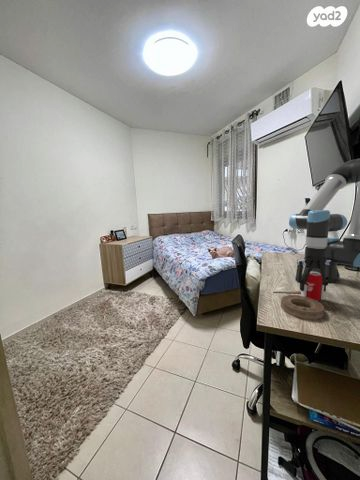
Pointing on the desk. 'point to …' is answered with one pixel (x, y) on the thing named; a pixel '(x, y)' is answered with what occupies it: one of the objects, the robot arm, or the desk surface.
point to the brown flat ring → (311, 312)
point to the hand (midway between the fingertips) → (311, 297)
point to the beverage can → (314, 285)
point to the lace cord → (286, 291)
